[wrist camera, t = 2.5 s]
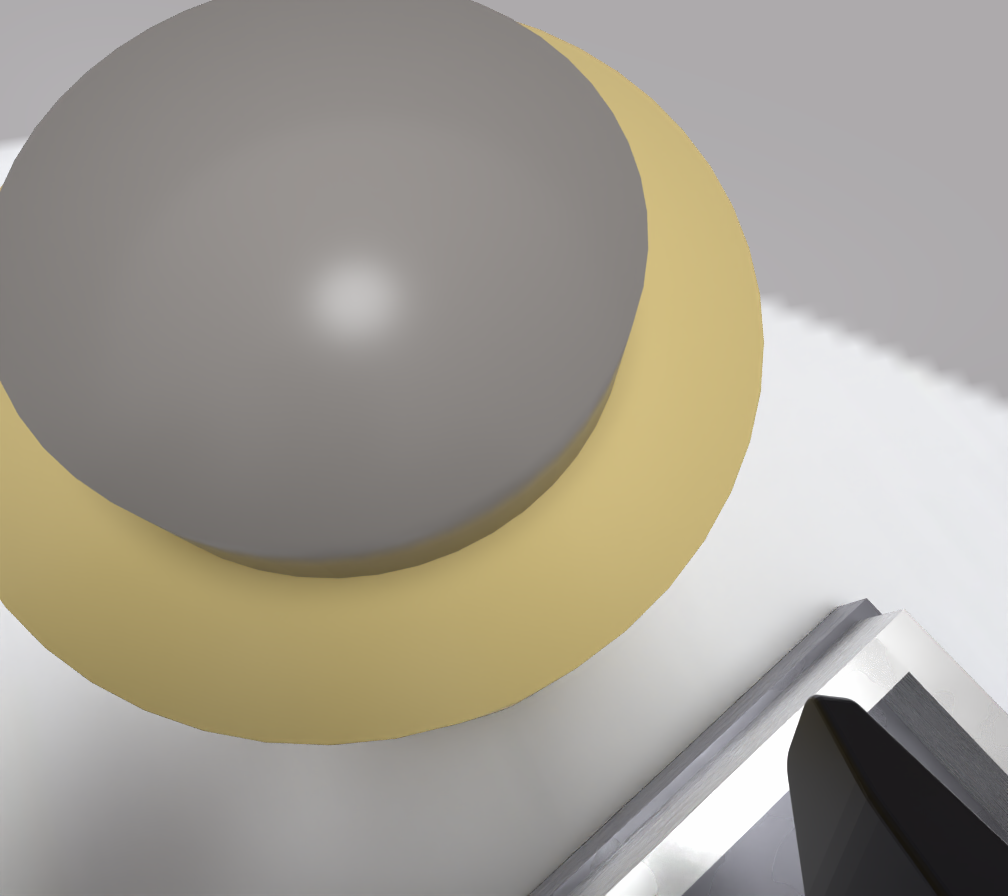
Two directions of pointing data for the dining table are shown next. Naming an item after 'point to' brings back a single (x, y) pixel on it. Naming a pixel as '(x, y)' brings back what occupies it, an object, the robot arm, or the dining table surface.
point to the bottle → (359, 366)
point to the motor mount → (763, 765)
